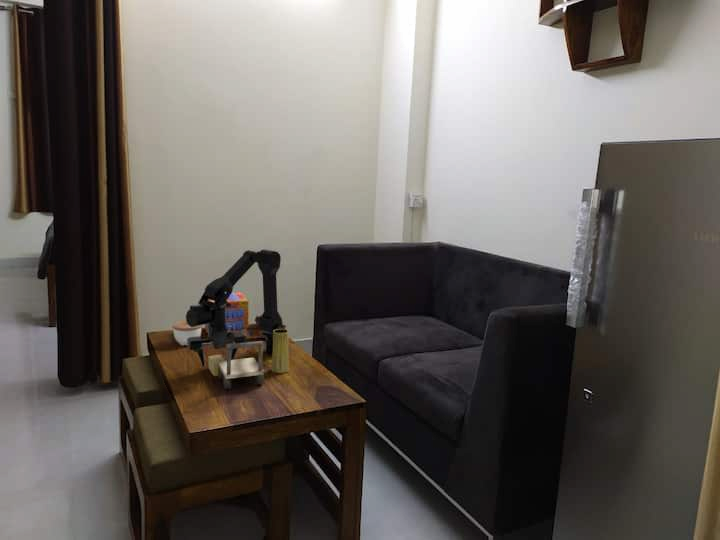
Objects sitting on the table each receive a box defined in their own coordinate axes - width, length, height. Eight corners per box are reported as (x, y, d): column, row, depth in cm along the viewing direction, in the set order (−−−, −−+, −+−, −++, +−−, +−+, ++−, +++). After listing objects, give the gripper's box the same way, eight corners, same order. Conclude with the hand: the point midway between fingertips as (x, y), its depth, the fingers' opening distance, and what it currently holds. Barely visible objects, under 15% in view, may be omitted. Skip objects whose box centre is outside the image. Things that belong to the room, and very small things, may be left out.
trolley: (253, 372, 184) (253, 330, 181) (263, 386, 172) (264, 341, 170) (217, 376, 179) (217, 333, 176) (226, 391, 167) (226, 345, 164)
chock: (220, 367, 188) (220, 354, 187) (226, 374, 181) (226, 362, 180) (208, 368, 186) (208, 356, 185) (214, 376, 179) (214, 363, 178)
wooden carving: (247, 341, 217) (247, 317, 215) (245, 337, 221) (245, 314, 219) (287, 338, 223) (287, 315, 221) (284, 335, 227) (285, 312, 225)
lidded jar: (181, 338, 217) (180, 315, 215) (206, 340, 215) (206, 317, 214) (168, 346, 206) (167, 322, 205) (194, 348, 205) (194, 325, 203)
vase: (292, 370, 187) (293, 331, 184) (278, 374, 182) (279, 334, 180) (281, 365, 191) (282, 327, 188) (267, 369, 187) (268, 330, 184)
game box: (204, 329, 230) (204, 293, 227) (241, 326, 236) (241, 292, 233) (210, 340, 216) (209, 302, 213) (248, 336, 222) (248, 300, 219)
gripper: (192, 330, 169) (192, 377, 172) (250, 325, 177) (250, 369, 180) (186, 320, 179) (187, 365, 182) (242, 316, 187) (242, 359, 190)
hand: (217, 365), depth 183 cm, fingers open, 9 cm apart
